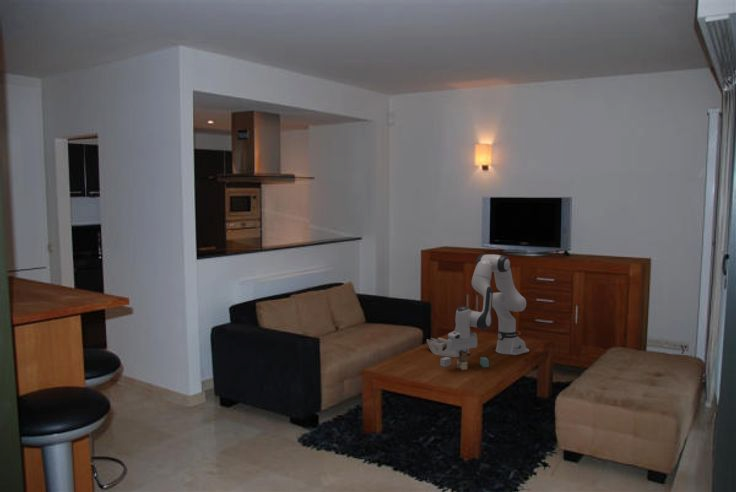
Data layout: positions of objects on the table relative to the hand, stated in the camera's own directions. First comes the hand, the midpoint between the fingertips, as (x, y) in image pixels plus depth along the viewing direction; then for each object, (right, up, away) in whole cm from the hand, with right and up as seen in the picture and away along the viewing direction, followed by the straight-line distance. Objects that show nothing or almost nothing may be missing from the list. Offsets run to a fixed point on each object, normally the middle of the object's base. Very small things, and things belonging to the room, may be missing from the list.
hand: (462, 356), depth 370 cm
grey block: (-9, -7, +6) cm, 13 cm away
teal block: (+14, -7, +6) cm, 17 cm away
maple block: (0, -7, +1) cm, 7 cm away
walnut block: (0, -2, 0) cm, 2 cm away
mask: (-5, -4, +36) cm, 36 cm away
